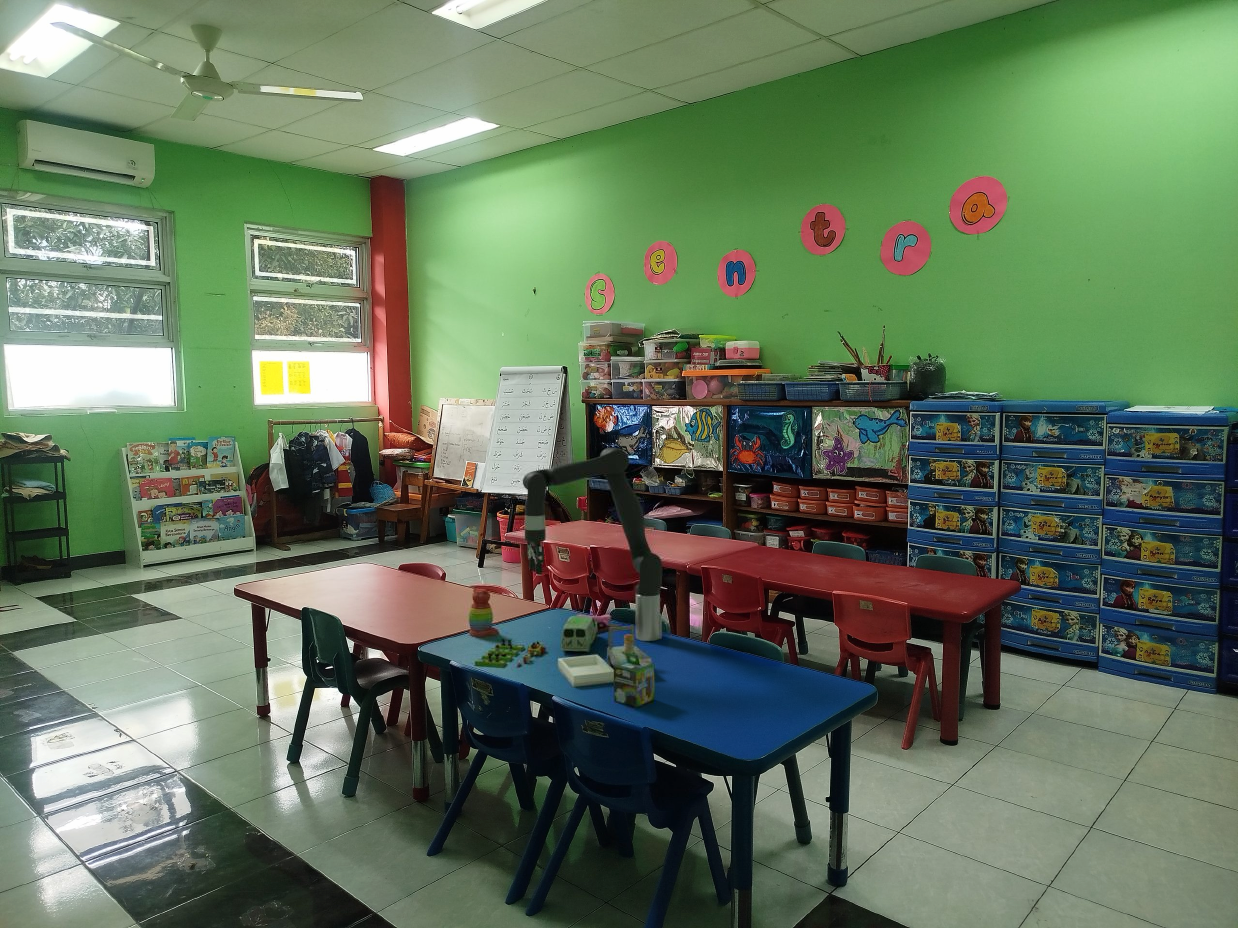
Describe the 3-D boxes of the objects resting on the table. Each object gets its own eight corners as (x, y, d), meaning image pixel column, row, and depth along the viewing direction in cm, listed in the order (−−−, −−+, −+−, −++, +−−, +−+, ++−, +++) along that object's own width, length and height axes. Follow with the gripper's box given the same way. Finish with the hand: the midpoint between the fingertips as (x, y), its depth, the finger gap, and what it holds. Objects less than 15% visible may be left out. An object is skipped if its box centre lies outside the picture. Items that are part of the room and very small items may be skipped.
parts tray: (597, 664, 286) (597, 654, 286) (615, 681, 268) (615, 671, 268) (558, 668, 281) (558, 658, 281) (573, 686, 263) (573, 675, 263)
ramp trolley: (634, 661, 289) (634, 625, 288) (651, 676, 274) (651, 637, 273) (607, 664, 285) (607, 627, 284) (622, 679, 270) (622, 640, 269)
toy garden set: (498, 647, 307) (497, 635, 307) (547, 651, 303) (547, 638, 303) (474, 667, 285) (474, 654, 284) (527, 671, 281) (527, 657, 280)
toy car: (598, 636, 321) (598, 610, 320) (589, 655, 296) (589, 628, 296) (571, 635, 322) (571, 610, 321) (559, 654, 298) (559, 627, 297)
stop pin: (631, 668, 281) (631, 633, 281) (634, 671, 279) (634, 636, 278) (622, 669, 280) (622, 634, 280) (625, 672, 278) (625, 637, 277)
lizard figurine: (563, 630, 330) (563, 612, 330) (600, 621, 344) (600, 604, 344) (588, 638, 320) (588, 619, 319) (625, 628, 334) (625, 610, 333)
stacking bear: (500, 632, 326) (500, 587, 324) (483, 638, 317) (482, 592, 316) (480, 628, 331) (479, 584, 330) (462, 634, 323) (461, 589, 321)
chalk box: (655, 699, 252) (655, 651, 251) (636, 708, 245) (636, 659, 244) (631, 692, 258) (631, 646, 257) (612, 701, 251) (612, 653, 250)
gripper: (550, 529, 294) (551, 574, 295) (539, 524, 307) (540, 567, 308) (530, 531, 291) (530, 576, 292) (519, 525, 304) (520, 569, 306)
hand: (535, 571), depth 300 cm, fingers open, 8 cm apart
